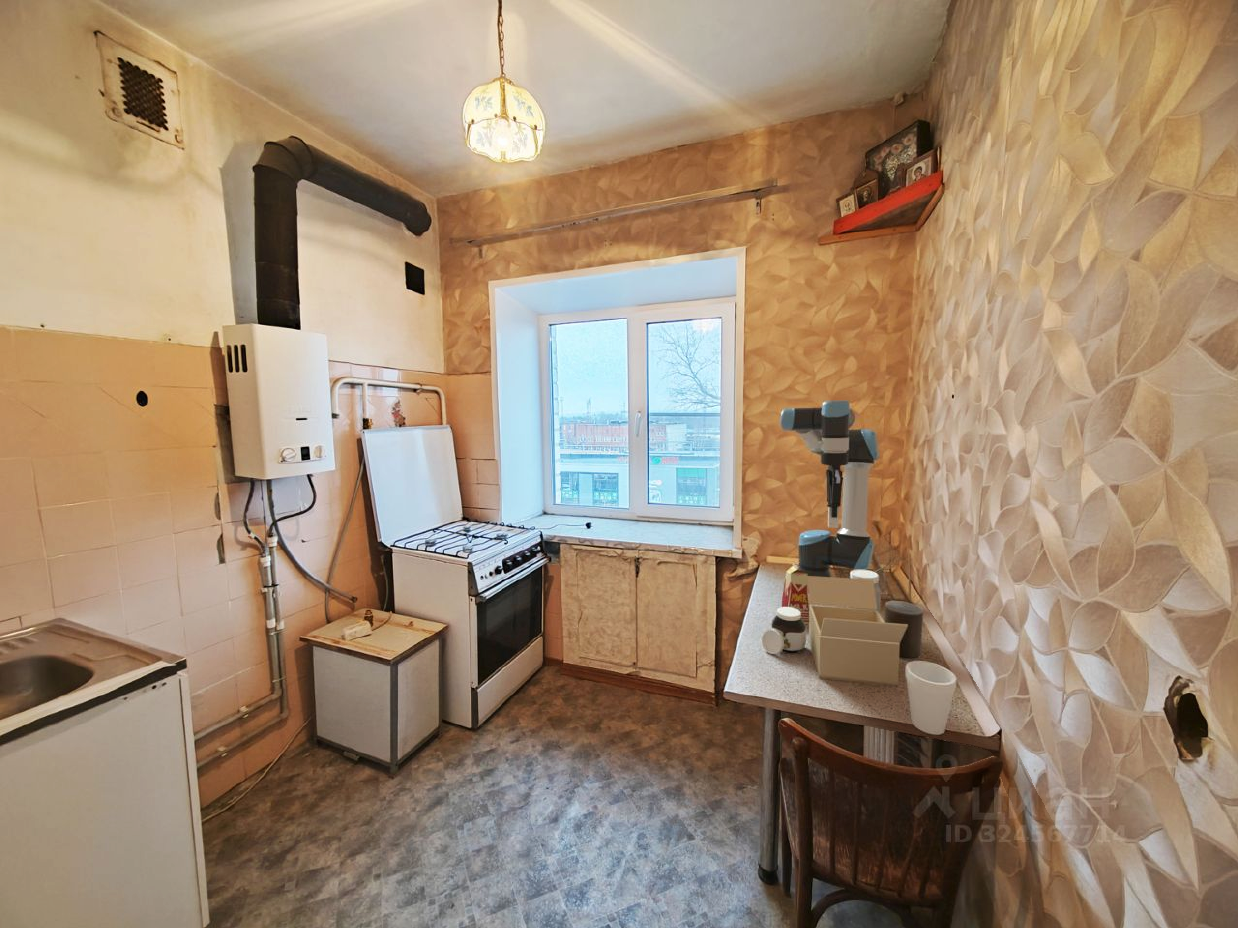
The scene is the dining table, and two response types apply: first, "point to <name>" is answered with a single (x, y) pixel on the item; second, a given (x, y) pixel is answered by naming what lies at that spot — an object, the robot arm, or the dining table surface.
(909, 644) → the pillar candle
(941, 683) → the foam cup
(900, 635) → the front flap
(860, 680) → the carton
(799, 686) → the dining table surface
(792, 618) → the spread jar
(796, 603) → the milk carton
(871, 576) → the jar
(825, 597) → the back flap
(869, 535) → the robot arm
